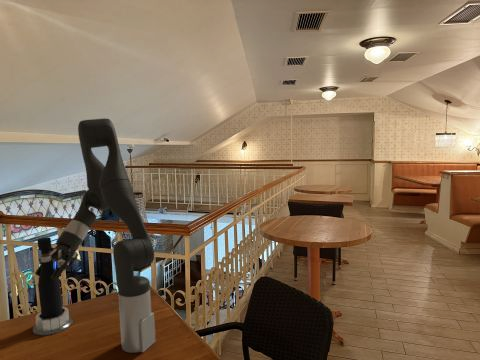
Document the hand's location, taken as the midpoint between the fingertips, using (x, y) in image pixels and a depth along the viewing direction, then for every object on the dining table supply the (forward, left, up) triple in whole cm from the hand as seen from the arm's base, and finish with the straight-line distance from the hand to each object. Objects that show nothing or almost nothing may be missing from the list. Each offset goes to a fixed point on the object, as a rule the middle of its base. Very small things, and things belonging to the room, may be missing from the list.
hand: (45, 277), depth 112 cm
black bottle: (0, -2, -17) cm, 17 cm away
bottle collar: (0, -1, -18) cm, 18 cm away
